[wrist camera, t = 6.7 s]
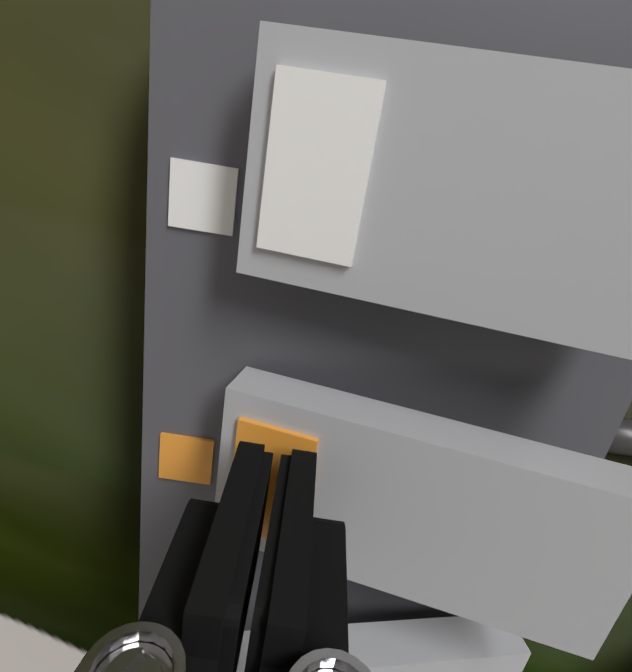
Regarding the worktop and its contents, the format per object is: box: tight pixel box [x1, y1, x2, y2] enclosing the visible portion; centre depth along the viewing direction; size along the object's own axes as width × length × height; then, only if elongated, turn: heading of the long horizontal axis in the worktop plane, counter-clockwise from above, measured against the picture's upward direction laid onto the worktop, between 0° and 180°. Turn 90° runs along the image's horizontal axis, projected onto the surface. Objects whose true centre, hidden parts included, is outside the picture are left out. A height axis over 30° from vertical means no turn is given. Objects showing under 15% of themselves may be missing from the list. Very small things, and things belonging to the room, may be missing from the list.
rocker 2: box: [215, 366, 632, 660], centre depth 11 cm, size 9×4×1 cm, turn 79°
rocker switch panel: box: [138, 0, 632, 631], centre depth 14 cm, size 18×21×4 cm
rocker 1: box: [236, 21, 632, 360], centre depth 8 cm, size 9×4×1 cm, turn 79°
